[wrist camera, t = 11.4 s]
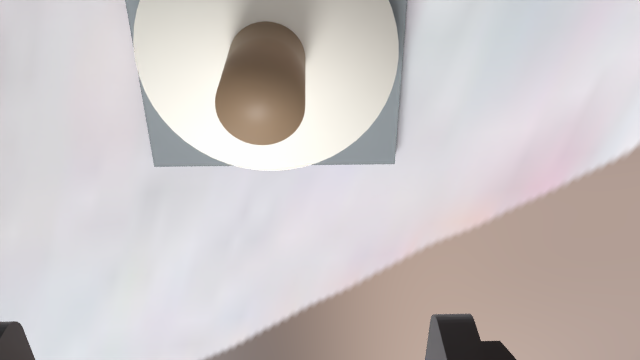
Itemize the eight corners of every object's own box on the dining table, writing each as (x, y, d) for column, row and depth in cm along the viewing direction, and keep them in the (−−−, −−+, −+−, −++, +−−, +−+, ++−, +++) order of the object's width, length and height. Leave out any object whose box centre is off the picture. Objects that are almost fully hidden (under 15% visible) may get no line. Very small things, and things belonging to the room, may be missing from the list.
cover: (117, -87, 23) (69, -57, 18) (405, -88, 23) (429, -59, 19) (159, 161, 29) (130, 231, 24) (387, 158, 29) (403, 227, 24)
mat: (112, -98, 23) (108, -96, 23) (411, -100, 24) (414, -97, 23) (157, 160, 30) (154, 166, 29) (393, 157, 30) (394, 164, 29)
